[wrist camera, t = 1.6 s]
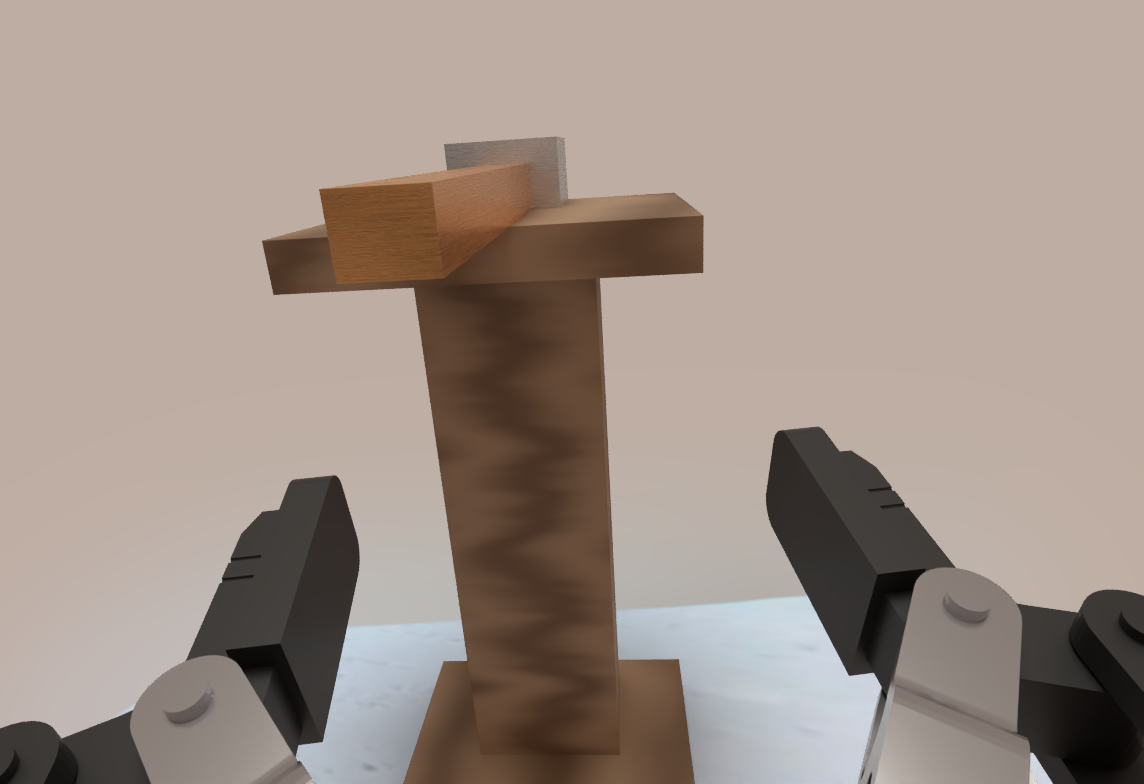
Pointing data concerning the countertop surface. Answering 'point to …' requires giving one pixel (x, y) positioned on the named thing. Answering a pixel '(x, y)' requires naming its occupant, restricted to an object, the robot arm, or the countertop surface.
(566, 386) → the wooden pedestal
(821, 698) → the countertop surface
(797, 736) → the countertop surface
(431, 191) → the wooden handled hammer
